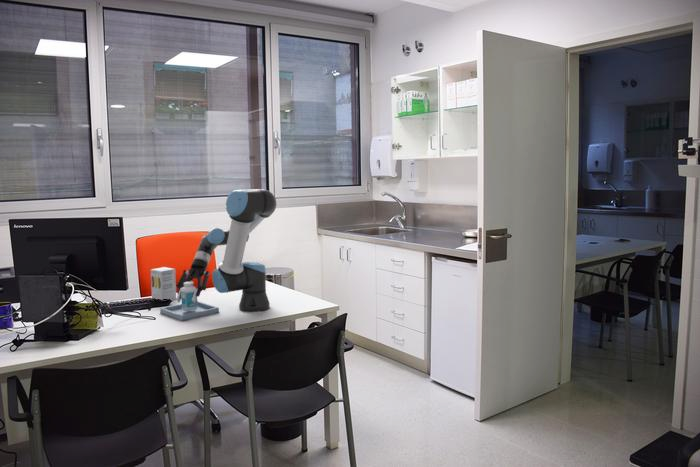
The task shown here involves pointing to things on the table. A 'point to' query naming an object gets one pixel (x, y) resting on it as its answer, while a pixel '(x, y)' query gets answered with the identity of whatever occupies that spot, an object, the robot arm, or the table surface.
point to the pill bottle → (188, 297)
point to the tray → (186, 315)
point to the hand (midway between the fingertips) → (185, 301)
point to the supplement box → (163, 283)
